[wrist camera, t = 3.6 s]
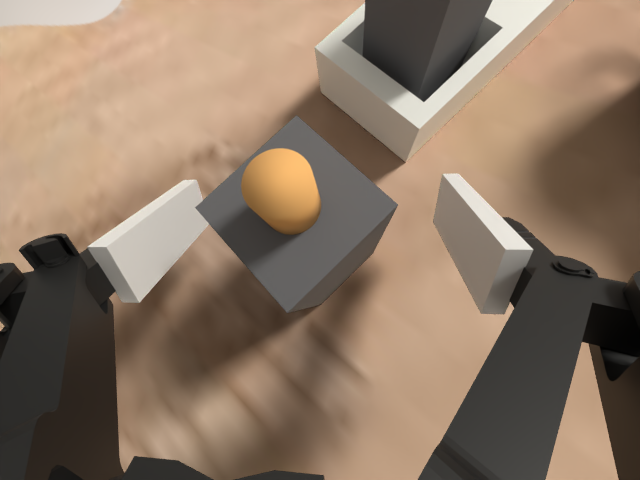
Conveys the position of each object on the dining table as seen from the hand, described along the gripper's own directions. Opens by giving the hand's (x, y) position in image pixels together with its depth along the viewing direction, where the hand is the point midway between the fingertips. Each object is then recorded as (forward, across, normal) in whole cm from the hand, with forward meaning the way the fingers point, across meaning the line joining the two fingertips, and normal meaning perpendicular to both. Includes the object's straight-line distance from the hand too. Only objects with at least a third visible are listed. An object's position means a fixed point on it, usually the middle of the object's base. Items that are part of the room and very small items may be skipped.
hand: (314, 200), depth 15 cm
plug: (+2, 0, -5) cm, 5 cm away
